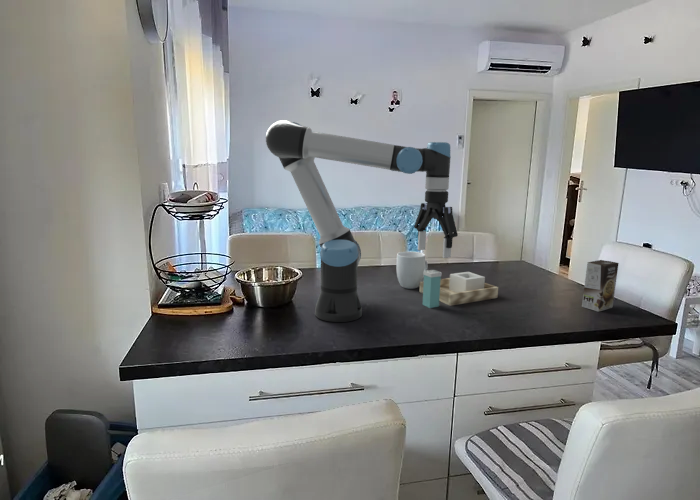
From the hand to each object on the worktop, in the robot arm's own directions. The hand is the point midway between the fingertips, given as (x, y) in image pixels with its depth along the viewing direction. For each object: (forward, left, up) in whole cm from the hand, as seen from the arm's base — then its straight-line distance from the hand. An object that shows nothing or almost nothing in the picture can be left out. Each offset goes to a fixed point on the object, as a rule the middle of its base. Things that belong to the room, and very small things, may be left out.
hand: (433, 253), depth 160 cm
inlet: (+21, +6, -17) cm, 28 cm away
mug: (+8, +23, -18) cm, 30 cm away
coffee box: (+52, -26, -18) cm, 61 cm away
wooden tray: (+17, +6, -18) cm, 26 cm away
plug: (0, 0, -18) cm, 18 cm away
